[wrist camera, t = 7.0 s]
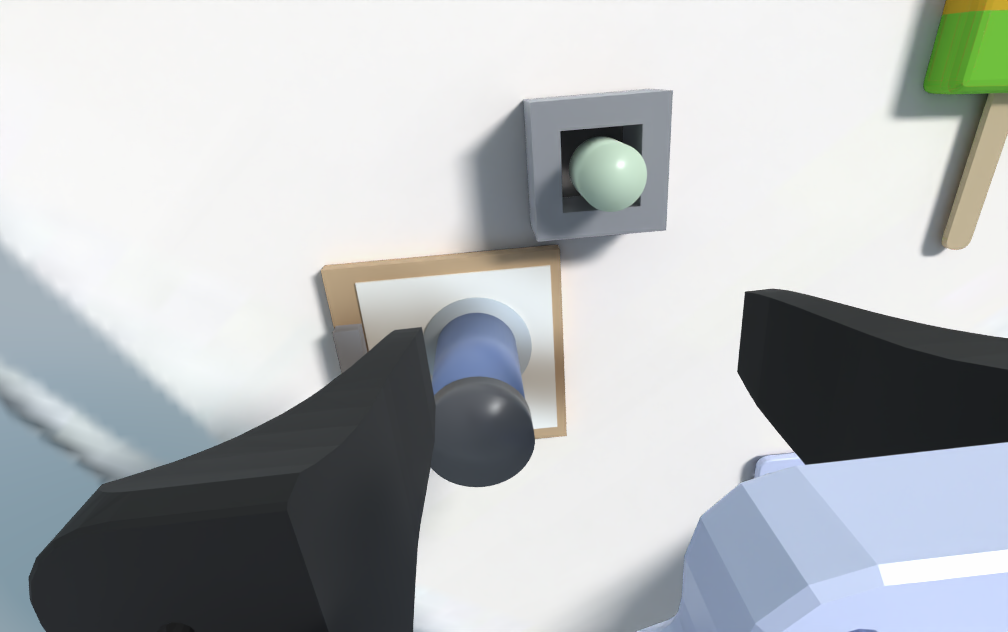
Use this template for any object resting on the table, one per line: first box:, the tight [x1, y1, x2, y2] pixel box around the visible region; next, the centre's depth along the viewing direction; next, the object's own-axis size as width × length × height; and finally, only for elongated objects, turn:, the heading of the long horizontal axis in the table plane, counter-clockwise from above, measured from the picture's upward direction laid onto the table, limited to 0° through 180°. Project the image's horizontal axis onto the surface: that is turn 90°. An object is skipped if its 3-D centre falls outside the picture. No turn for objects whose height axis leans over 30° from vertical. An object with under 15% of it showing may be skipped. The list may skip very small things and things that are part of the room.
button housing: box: [523, 89, 673, 242], centre depth 18 cm, size 4×4×2 cm
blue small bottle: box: [431, 313, 535, 487], centre depth 19 cm, size 3×3×6 cm
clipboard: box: [321, 245, 567, 439], centre depth 22 cm, size 9×9×1 cm
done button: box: [569, 136, 647, 212], centre depth 17 cm, size 2×2×2 cm
